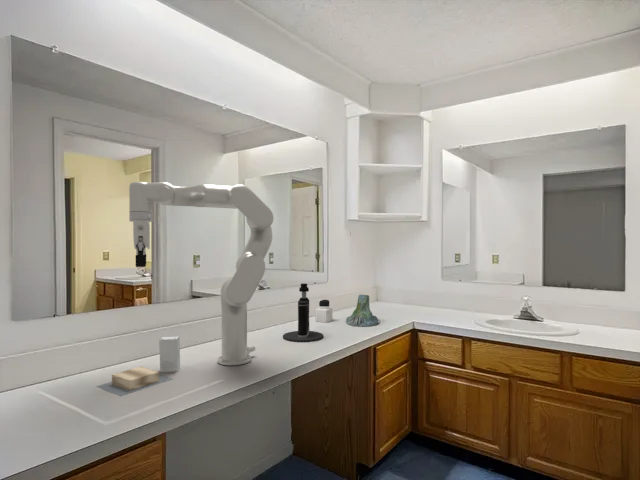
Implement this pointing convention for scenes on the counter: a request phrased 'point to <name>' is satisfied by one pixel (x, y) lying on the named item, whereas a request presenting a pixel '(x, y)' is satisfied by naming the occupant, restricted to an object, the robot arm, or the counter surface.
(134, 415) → the counter surface
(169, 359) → the skincare box
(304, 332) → the vape
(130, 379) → the birch plinth
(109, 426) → the counter surface
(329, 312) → the medicine bottle
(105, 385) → the slate board
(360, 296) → the tree stump
